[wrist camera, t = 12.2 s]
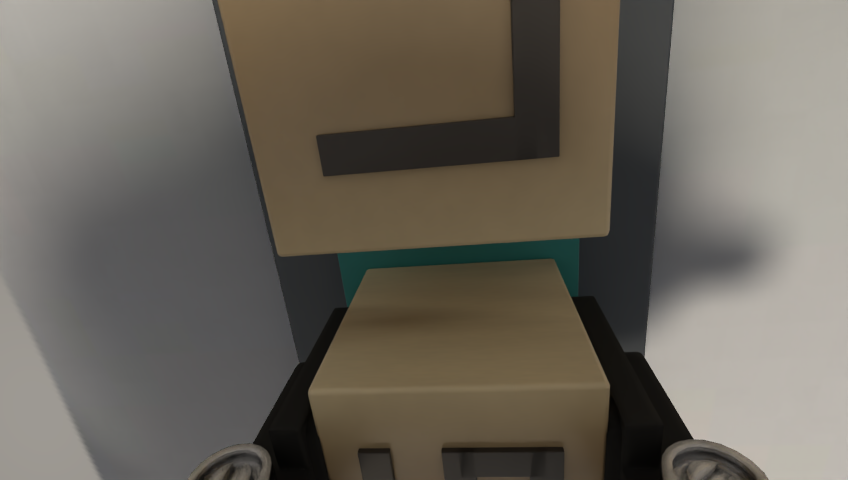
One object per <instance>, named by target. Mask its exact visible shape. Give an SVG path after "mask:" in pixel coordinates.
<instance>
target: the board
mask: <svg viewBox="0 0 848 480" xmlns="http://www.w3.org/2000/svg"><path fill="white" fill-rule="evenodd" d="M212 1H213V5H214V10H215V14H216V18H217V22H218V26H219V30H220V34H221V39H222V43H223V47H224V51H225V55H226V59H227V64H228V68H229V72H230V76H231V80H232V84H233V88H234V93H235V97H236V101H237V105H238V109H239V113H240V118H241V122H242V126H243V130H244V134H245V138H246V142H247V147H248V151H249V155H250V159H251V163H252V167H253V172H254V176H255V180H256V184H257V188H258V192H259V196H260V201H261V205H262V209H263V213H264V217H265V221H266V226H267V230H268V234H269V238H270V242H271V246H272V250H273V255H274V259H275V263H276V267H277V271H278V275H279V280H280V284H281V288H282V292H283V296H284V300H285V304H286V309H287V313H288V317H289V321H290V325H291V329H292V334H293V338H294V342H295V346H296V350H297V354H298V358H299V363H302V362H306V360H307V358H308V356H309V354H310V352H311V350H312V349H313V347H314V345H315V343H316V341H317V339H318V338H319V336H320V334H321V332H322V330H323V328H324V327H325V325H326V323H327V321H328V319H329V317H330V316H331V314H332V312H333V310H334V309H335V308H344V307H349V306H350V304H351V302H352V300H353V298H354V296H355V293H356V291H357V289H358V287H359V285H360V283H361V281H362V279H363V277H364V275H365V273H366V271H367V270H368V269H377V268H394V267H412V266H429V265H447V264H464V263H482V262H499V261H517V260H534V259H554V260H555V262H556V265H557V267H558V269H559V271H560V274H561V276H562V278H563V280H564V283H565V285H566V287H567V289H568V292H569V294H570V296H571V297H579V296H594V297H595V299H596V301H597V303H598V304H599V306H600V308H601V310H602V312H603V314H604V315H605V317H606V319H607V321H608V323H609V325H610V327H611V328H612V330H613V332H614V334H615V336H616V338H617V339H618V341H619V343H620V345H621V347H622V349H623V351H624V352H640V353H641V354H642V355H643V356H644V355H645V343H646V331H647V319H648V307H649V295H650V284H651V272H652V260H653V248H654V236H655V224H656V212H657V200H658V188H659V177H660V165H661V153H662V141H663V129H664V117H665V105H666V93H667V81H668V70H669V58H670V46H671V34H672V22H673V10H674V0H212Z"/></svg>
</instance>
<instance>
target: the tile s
mask: <svg viewBox="0 0 848 480" xmlns="http://www.w3.org/2000/svg"><path fill="white" fill-rule="evenodd" d="M308 397H309V401H310V405H311V409H312V413H313V417H314V421H315V426H316V430H317V434H318V436H319V438H320V443H321V447H322V451H323V455H324V459H325V463H326V468H327V472H328V476H329V480H604V471H605V453H606V434H607V429H608V417H609V398H610V384H609V382H608V380H607V377H606V375H605V373H604V370H603V368H602V366H601V364H600V361H599V359H598V357H597V355H596V352H595V350H594V348H593V346H592V343H591V341H590V339H589V337H588V334H587V332H586V330H585V328H584V325H583V323H582V321H581V319H580V316H579V314H578V312H577V310H576V307H575V305H574V303H573V301H572V298H571V296H570V294H569V292H568V289H567V287H566V285H565V283H564V280H563V278H562V276H561V274H560V271H559V269H558V267H557V265H556V262H555V260H554V259H534V260H517V261H499V262H482V263H464V264H447V265H429V266H412V267H394V268H377V269H368V270H367V271H366V273H365V275H364V277H363V279H362V281H361V283H360V285H359V287H358V289H357V291H356V293H355V296H354V298H353V300H352V302H351V304H350V306H349V308H348V310H347V312H346V314H345V316H344V318H343V320H342V322H341V324H340V326H339V328H338V330H337V332H336V334H335V337H334V339H333V341H332V343H331V345H330V347H329V349H328V351H327V353H326V355H325V357H324V359H323V361H322V363H321V365H320V367H319V369H318V371H317V373H316V375H315V378H314V380H313V382H312V384H311V386H310V388H309V391H308Z"/></svg>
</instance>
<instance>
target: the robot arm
mask: <svg viewBox="0 0 848 480" xmlns="http://www.w3.org/2000/svg"><path fill="white" fill-rule="evenodd" d="M571 298H572V301H573V303H574V305H575V307H576V310H577V312H578V314H579V316H580V319H581V321H582V323H583V325H584V328H585V330H586V332H587V334H588V337H589V339H590V341H591V343H592V346H593V348H594V350H595V352H596V355H597V357H598V359H599V361H600V364H601V366H602V368H603V370H604V373H605V375H606V377H607V380H608V382H609V384H610V398H609V417H608V429H607V434H606V453H605V471H604V480H768V478H767V477H766V475H765V473H764V472H763V471H762V470H761V469H760V468H759V467H758V466H757V465H755V464H754V463H753V462H752V461H751V460H750V459H748V458H747V457H745V456H743V455H742V454H740V453H739V452H737V451H735V450H733V449H731V448H729V447H726V446H724V445H722V444H719V443H715V442H710V441H706V440H694V439H693V438H692V436H691V434H690V433H689V431H688V429H687V428H686V426H685V424H684V423H683V421H682V419H681V418H680V416H679V414H678V413H677V411H676V409H675V408H674V406H673V404H672V403H671V401H670V399H669V398H668V396H667V394H666V393H665V391H664V389H663V388H662V386H661V384H660V383H659V381H658V379H657V378H656V376H655V374H654V373H653V371H652V369H651V368H650V366H649V364H648V363H647V361H646V359H645V358H644V356H643V355H642V354H641V353H640V352H624V351H623V349H622V347H621V345H620V343H619V341H618V339H617V338H616V336H615V334H614V332H613V330H612V328H611V327H610V325H609V323H608V321H607V319H606V317H605V315H604V314H603V312H602V310H601V308H600V306H599V304H598V303H597V301H596V299H595V297H594V296H579V297H571ZM348 308H349V307H344V308H335V309H334V310H333V312H332V314H331V316H330V317H329V319H328V321H327V323H326V325H325V327H324V328H323V330H322V332H321V334H320V336H319V338H318V339H317V341H316V343H315V345H314V347H313V349H312V350H311V352H310V354H309V356H308V358H307V360H306V362H302V363H299V364H298V365H297V367H296V368H295V370H294V371H293V373H292V375H291V377H290V379H289V380H288V382H287V384H286V386H285V387H284V389H283V391H282V393H281V394H280V396H279V398H278V400H277V402H276V403H275V405H274V407H273V409H272V410H271V412H270V414H269V416H268V417H267V419H266V421H265V423H264V425H263V426H262V428H261V430H260V432H259V433H258V435H257V437H256V439H255V440H254V442H253V444H251V443H247V444H237V445H234V446H230V447H227V448H224V449H222V450H220V451H218V452H216V453H214V454H213V455H211V456H210V457H208V458H207V459H206V460H204V461H203V462H202V463H201V464H200V465H199V466H198V467H197V468H196V469H195V470H194V471H193V472H192V473H191V475H190V476H189V478H188V480H329V476H328V472H327V468H326V463H325V459H324V455H323V451H322V447H321V443H320V438H319V436H318V434H317V430H316V426H315V421H314V417H313V413H312V409H311V405H310V401H309V397H308V391H309V388H310V386H311V384H312V382H313V380H314V378H315V375H316V373H317V371H318V369H319V367H320V365H321V363H322V361H323V359H324V357H325V355H326V353H327V351H328V349H329V347H330V345H331V343H332V341H333V339H334V337H335V334H336V332H337V330H338V328H339V326H340V324H341V322H342V320H343V318H344V316H345V314H346V312H347V310H348Z"/></svg>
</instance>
